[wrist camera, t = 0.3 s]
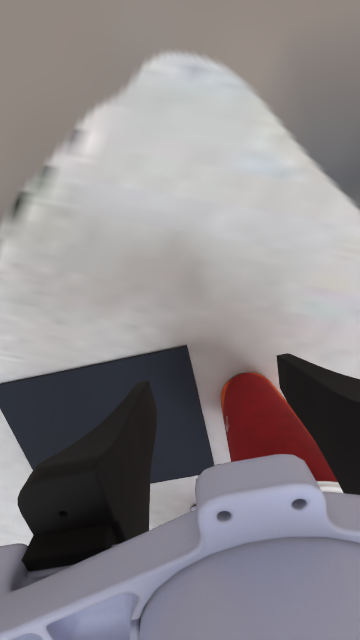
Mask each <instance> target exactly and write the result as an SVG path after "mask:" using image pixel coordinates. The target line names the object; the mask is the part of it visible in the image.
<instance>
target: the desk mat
mask: <svg viewBox="0 0 360 640" xmlns="http://www.w3.org/2000/svg"><path fill="white" fill-rule="evenodd" d="M147 380H149V383H150V387H151V390H152V394H153V397H154V401H155V404H156V408H157V431H156V438H155V444H154V451H153V458H152V465H151V476H150V484H151V483H157V482H162V481H168V480H174V479H179V478H185V477H191V476H196V475H200V474H201V473H202V472H203V471H204V470H205V469H207V468H210V467H213V466H214V462H213V458H212V453H211V449H210V445H209V440H208V436H207V432H206V427H205V423H204V419H203V414H202V410H201V406H200V401H199V397H198V392H197V388H196V384H195V379H194V375H193V371H192V366H191V362H190V358H189V353H188V349H187V346H182V347H177V348H172V349H167V350H163V351H158V352H153V353H148V354H143V355H138V356H133V357H129V358H124V359H119V360H114V361H109V362H104V363H99V364H94V365H90V366H85V367H80V368H75V369H70V370H65V371H60V372H56V373H51V374H46V375H41V376H36V377H31V378H26V379H22V380H17V381H12V382H7V383H2V384H0V409H1V411H2V413H3V415H4V417H5V418H6V420H7V422H8V424H9V426H10V428H11V430H12V432H13V433H14V435H15V437H16V439H17V441H18V443H19V445H20V447H21V448H22V450H23V452H24V454H25V456H26V458H27V460H28V462H29V464H30V465H31V467H32V469H33V470H34V468H35V467H36V465H37V464H38V463H40V462H42V461H44V460H45V459H47V458H49V457H51V456H53V455H55V454H57V453H59V452H60V451H62V450H64V449H65V448H67V447H69V446H70V445H72V444H73V443H75V442H76V441H78V440H79V439H81V438H82V437H83V436H85V435H86V434H87V433H89V432H90V431H91V430H93V429H94V428H95V427H96V426H98V425H99V424H100V423H101V422H102V421H103V420H104V419H106V418H107V417H108V416H109V415H110V414H111V413H112V412H113V410H114V409H115V408H116V407H117V406H118V405H119V404H120V403H121V402H122V401H123V400H124V398H125V397H126V396H127V395H128V394H129V392H130V391H131V390H132V389H133V388H134V386H135V385H136V384H137V383H138V382H142V381H147Z"/></svg>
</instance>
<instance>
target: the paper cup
mask: <svg viewBox="0 0 360 640" xmlns="http://www.w3.org/2000/svg"><path fill="white" fill-rule="evenodd" d="M221 405H222V412H223V418H224V424H225V430H226V435H227V441H228V447H229V453H230V458H231V462H235V461H241V460H247V459H253V458H258V457H264V456H270V455H276V454H290V455H295V456H297V457H298V458H300V459H302V460H304V461H305V463H306V465H307V466H308V468H309V470H310V471H311V473H312V475H313V477H314V478H315V480H316V482H317V484H318V485H319V487H320V489H321V491H324V492H335V493H343V491H342V489H341V487H340V485H339V483H338V482H337V480H336V478H335V476H334V474H333V472H332V470H331V469H330V467H329V465H328V463H327V461H326V460H325V458H324V456H323V454H322V453H321V451H320V449H319V447H318V446H317V444H316V442H315V441H314V439H313V438H312V436H311V435H310V433H309V432H308V431H307V429H306V428H305V426H304V425H303V424H302V422H301V421H300V419H299V418H298V417H297V415H296V414H295V412H294V411H293V410H292V408H291V407H290V405H289V404H288V402H287V401H286V400H285V399H284V397H283V396H282V395H281V394H280V392H279V391H278V390H277V389H276V388H275V386H274V385H273V384H272V383H271V382H270V381H269V380H268V379H267V378H266V377H264V376H262V375H260V374H257V373H242V374H239V375H237V376H235V377H233V378H232V379H230V380H229V381H228V382H227V383H226V384H225V386H224V388H223V390H222V393H221Z"/></svg>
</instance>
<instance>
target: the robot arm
mask: <svg viewBox="0 0 360 640" xmlns="http://www.w3.org/2000/svg"><path fill="white" fill-rule="evenodd" d="M277 364H278V374H279V384H280V389H281V391H282V393H283V395H284V397H285V398H286V400H287V402H288V404H289V405H290V407H291V408H292V410H293V411H294V412H295V414H296V415H297V417H298V418H299V419H300V421H301V422H302V424H303V425H304V426H305V428H306V429H307V431H308V432H309V433H310V435H311V436H312V438H313V439H314V441H315V442H316V444H317V446H318V447H319V449H320V451H321V453H322V454H323V456H324V458H325V460H326V461H327V463H328V465H329V467H330V469H331V470H332V472H333V474H334V476H335V478H336V480H337V482H338V483H339V485H340V487H341V489H342V491H343V493H335V492H324V491H321V489H320V487H319V485H318V484H317V482H316V480H315V478H314V477H313V475H312V473H311V471H310V470H309V468H308V466H307V465H306V463H305V461H304V460H302V459H300V458H298V457H297V456H295V455H290V454H276V455H270V456H264V457H258V458H253V459H247V460H241V461H235V462H229V463H224V464H218V465H215V466H213V467H210V468H207V469H205V470H204V471H203V472H202V473H201V474H200V475H199V477H198V478H197V479H196V486H195V494H196V506H194V507H192V508H191V512H189V513H187V514H185V515H182V516H180V517H178V518H176V519H174V520H171V521H169V522H167V523H165V524H163V525H160V526H158V527H156V528H154V529H152V530H149V502H150V476H151V465H152V458H153V451H154V444H155V438H156V431H157V408H156V404H155V401H154V397H153V394H152V390H151V387H150V383H149V380H147V381H142V382H138V383H137V384H136V385H135V386H134V388H133V389H132V390H131V391H130V392H129V394H128V395H127V396H126V397H125V398H124V400H123V401H122V402H121V403H120V404H119V405H118V406H117V407H116V408H115V409H114V410H113V412H112V413H111V414H110V415H109V416H108V417H107V418H106V419H104V420H103V421H102V422H101V423H100V424H99V425H98V426H96V427H95V428H94V429H93V430H91V431H90V432H89V433H87V434H86V435H85V436H83V437H82V438H81V439H79V440H78V441H76V442H75V443H73V444H72V445H70V446H69V447H67V448H65V449H64V450H62V451H60V452H59V453H57V454H55V455H53V456H51V457H49V458H47V459H45V460H44V461H42V462H40V463H38V464H37V465H36V467H35V468H34V470H33V472H32V473H31V475H30V476H29V478H28V480H27V481H26V483H25V485H24V486H23V488H22V489H21V491H20V493H19V496H18V507H19V509H20V512H21V514H22V516H23V518H24V519H25V521H26V523H27V524H28V526H29V528H30V530H31V531H32V533H33V538H32V540H31V542H30V544H29V546H27V545H25V544H11V545H5V546H0V640H360V379H356V378H353V377H349V376H346V375H342V374H339V373H336V372H333V371H331V370H328V369H325V368H322V367H320V366H317V365H315V364H312V363H310V362H308V361H305V360H303V359H301V358H298V357H296V356H294V355H291V354H288V353H287V354H282V355H277Z"/></svg>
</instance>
